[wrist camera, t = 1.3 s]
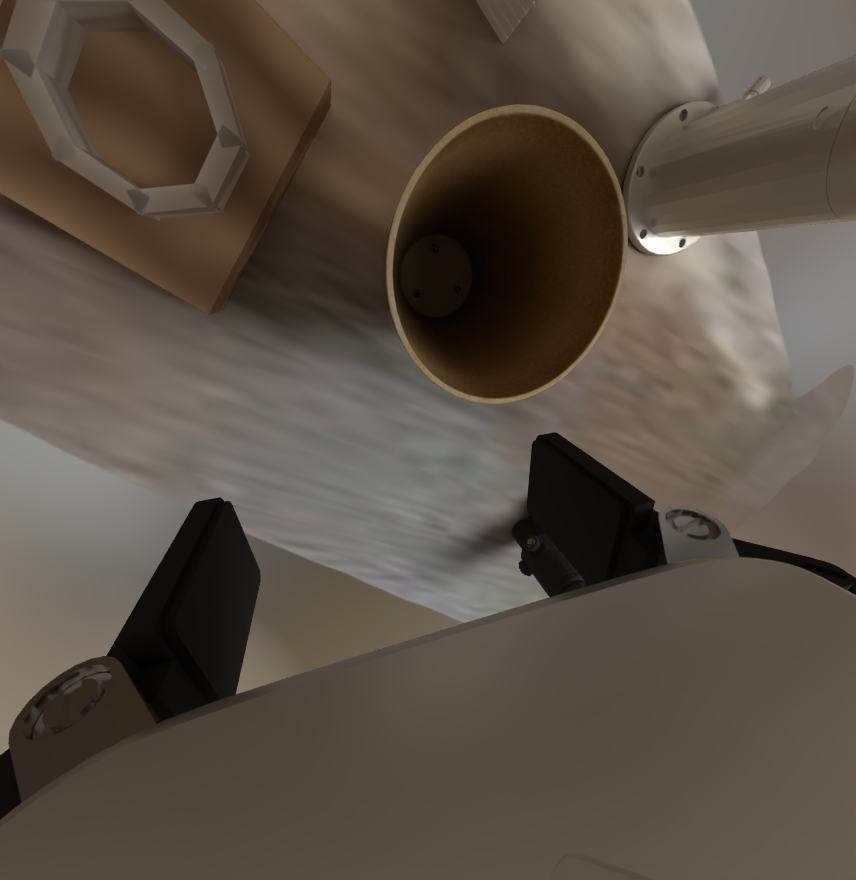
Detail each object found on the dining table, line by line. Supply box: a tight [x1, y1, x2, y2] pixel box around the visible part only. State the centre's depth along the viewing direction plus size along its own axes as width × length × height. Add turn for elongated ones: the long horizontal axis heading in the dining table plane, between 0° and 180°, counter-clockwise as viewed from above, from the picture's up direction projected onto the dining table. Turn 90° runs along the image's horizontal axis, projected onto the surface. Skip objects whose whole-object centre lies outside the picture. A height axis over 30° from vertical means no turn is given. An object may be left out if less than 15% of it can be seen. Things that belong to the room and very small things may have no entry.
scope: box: [512, 515, 589, 597], centre depth 46 cm, size 8×14×10 cm
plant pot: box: [384, 104, 628, 404], centre depth 26 cm, size 15×15×16 cm
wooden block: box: [0, 0, 331, 315], centre depth 21 cm, size 18×14×6 cm
